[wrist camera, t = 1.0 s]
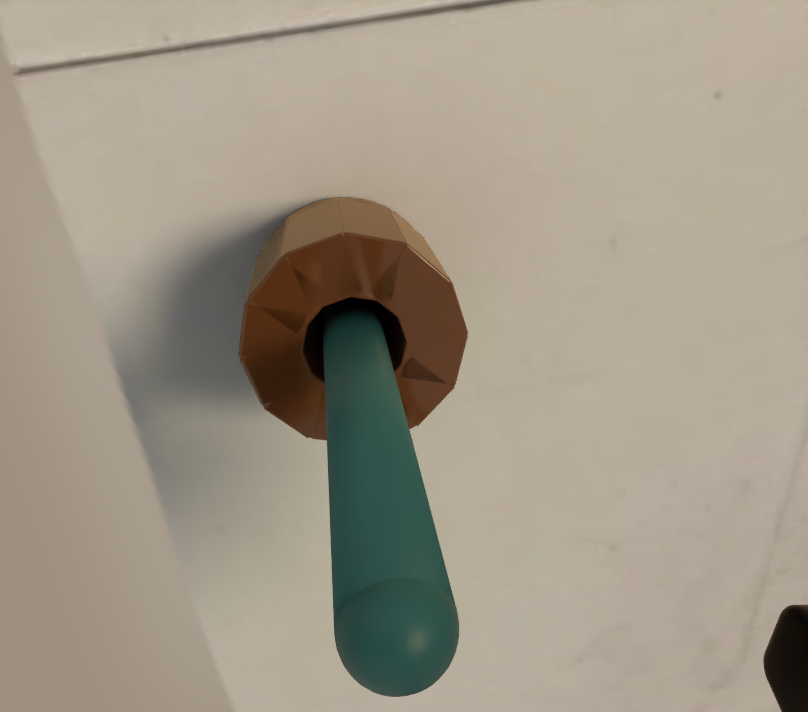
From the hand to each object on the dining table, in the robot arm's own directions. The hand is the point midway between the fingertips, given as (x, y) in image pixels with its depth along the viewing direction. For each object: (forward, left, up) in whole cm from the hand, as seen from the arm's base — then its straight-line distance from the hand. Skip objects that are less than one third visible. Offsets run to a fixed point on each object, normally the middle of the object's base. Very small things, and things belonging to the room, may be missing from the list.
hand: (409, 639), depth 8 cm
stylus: (0, 0, -13) cm, 13 cm away
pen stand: (0, 0, -13) cm, 13 cm away
